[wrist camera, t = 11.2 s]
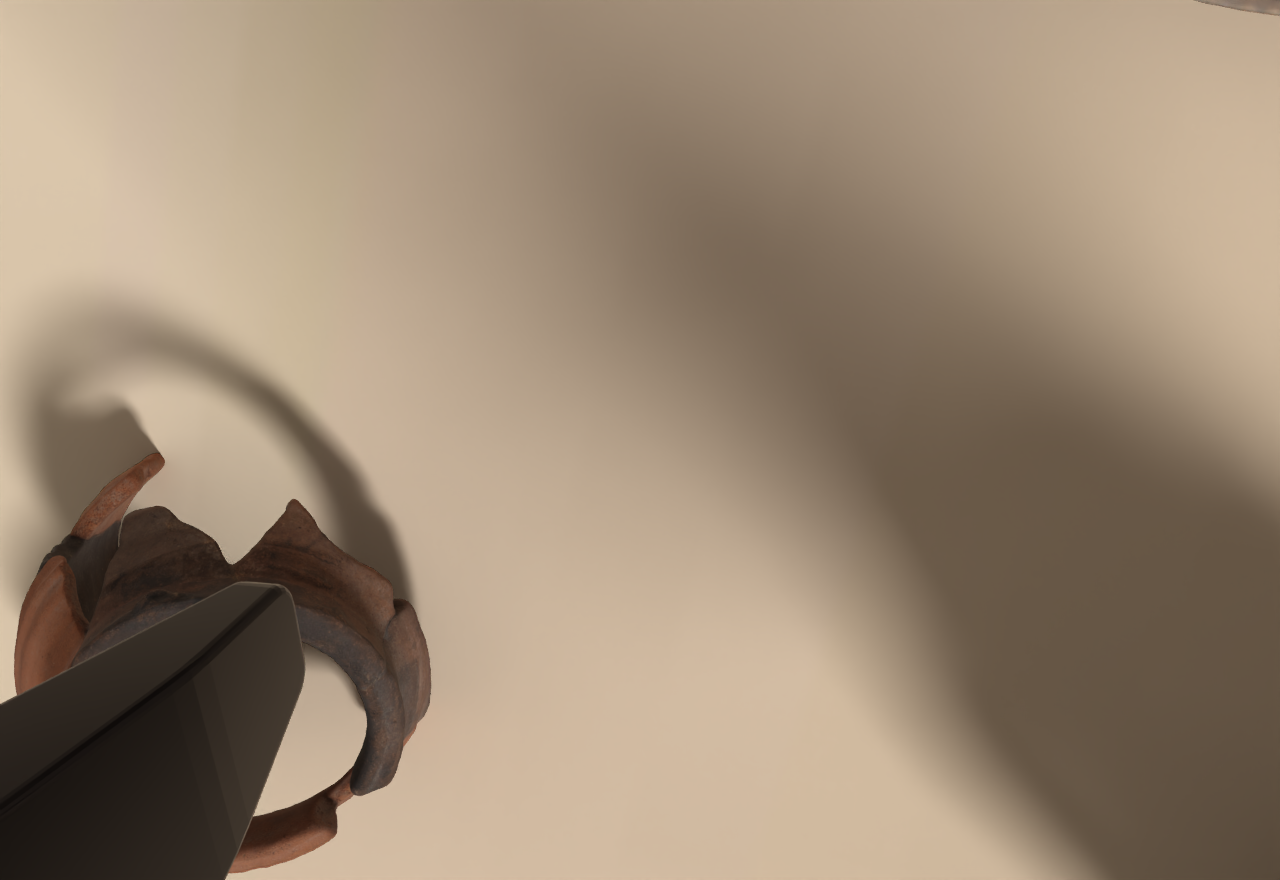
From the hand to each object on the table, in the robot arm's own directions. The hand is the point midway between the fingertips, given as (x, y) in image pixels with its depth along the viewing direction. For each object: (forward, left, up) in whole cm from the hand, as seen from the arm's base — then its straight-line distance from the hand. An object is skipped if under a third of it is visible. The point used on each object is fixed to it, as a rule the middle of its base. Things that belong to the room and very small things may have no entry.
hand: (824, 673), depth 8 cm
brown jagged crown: (+15, +10, -13) cm, 22 cm away
